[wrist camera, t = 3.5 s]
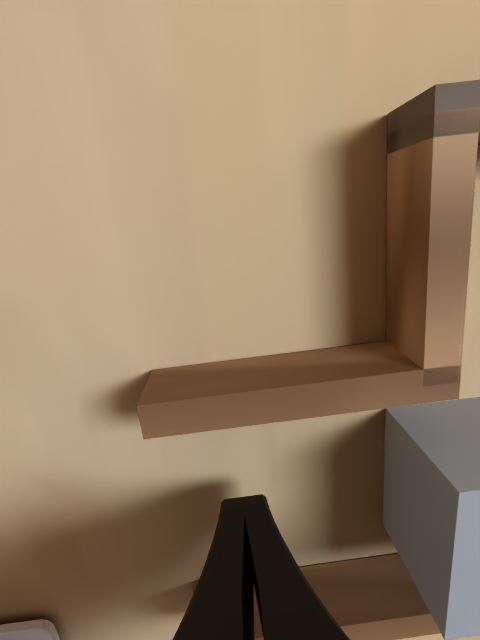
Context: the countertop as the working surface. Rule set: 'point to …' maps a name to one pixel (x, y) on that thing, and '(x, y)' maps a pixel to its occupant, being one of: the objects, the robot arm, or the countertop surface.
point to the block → (437, 506)
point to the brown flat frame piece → (365, 347)
